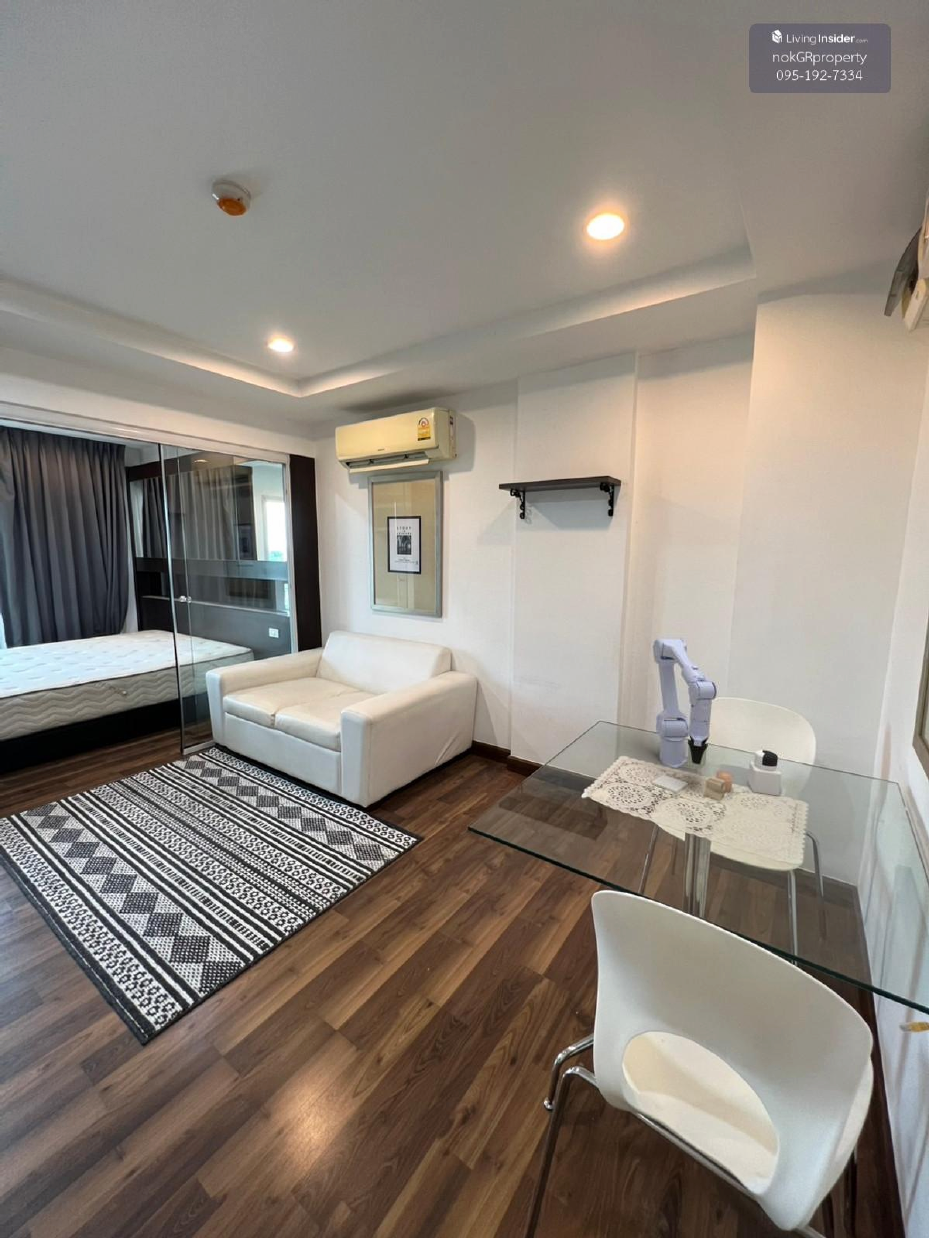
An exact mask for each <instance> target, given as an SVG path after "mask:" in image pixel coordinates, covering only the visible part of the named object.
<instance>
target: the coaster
mask: <svg viewBox="0 0 929 1238" xmlns="http://www.w3.org/2000/svg"><path fill="white" fill-rule="evenodd" d="M651 785H654V786H657V787H659V788H662V789H664V790H667V791H669V792H672V793H675V794H677V793H679V792H680V791H682V790H683V789H685V788H686V787H687V786H688V783H687V782H685V781H682V780H679V779H677V778H674V777H671V776H668V775H665V774H662V775H661V776H659V777H657V778H655V780H652V781H651Z"/></svg>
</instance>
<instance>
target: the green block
mask: <svg viewBox="0 0 929 1238" xmlns="http://www.w3.org/2000/svg"><path fill="white" fill-rule="evenodd" d="M707 750H708V747H707V748H706V750H705V751H704V753H703V756H702V760H701V763H700V764H695V763H693V762H692V756H691V750H690V747H689V746H688V751H687V760H688V761H686V762H687V763H686V765H687V766H690V767H694V768H696V769H702V768H703V767H705V766H706V762H707V761H706V760H707V752H708V751H707Z"/></svg>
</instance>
